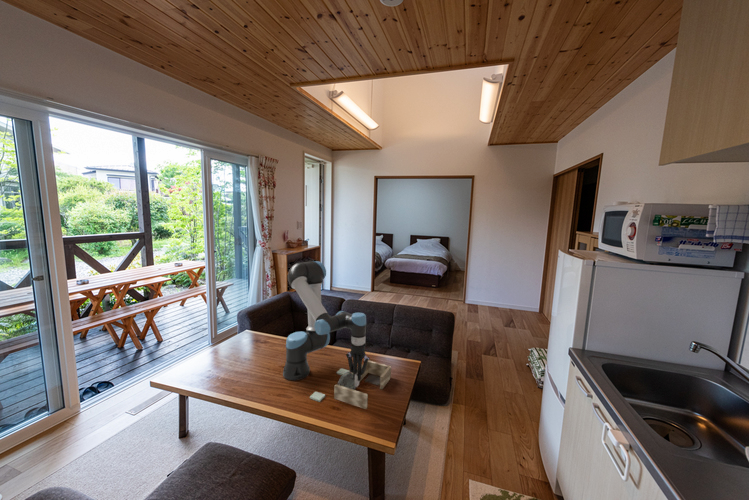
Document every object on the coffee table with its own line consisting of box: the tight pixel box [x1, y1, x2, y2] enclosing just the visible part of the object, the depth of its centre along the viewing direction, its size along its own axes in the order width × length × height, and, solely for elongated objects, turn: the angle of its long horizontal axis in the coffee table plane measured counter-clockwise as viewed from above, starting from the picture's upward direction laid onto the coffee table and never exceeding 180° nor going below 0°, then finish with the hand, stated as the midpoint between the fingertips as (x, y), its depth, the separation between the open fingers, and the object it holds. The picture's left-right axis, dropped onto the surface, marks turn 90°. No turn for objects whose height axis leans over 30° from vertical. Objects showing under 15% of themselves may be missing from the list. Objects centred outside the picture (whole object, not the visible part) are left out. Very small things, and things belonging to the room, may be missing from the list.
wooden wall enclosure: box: [333, 359, 392, 410], centre depth 156 cm, size 19×32×7 cm, turn 156°
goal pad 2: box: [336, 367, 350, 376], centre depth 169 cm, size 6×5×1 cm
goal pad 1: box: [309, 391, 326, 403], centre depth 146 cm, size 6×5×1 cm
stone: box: [337, 372, 357, 390], centre depth 153 cm, size 10×10×10 cm
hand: (356, 385), depth 151 cm, fingers closed
